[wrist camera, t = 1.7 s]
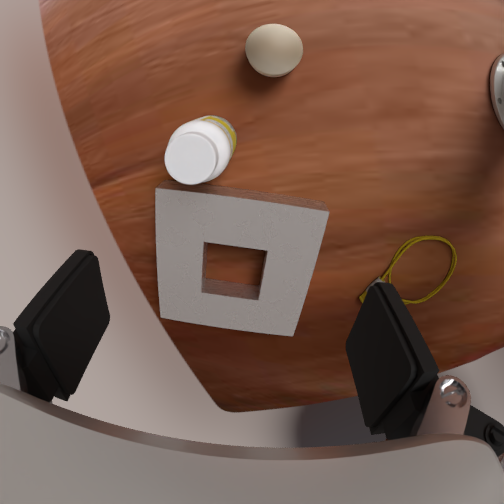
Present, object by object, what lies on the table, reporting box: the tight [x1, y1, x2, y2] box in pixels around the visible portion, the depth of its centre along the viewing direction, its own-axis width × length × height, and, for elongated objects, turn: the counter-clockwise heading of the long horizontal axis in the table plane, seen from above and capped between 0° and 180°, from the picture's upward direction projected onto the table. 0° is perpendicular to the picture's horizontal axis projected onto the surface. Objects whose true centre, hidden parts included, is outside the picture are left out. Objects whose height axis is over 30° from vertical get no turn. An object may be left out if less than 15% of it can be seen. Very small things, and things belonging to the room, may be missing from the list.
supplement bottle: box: [165, 116, 237, 185], centre depth 25 cm, size 5×5×10 cm
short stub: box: [245, 24, 303, 77], centre depth 22 cm, size 5×5×4 cm
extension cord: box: [359, 236, 457, 304], centre depth 36 cm, size 12×16×2 cm
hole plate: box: [155, 180, 329, 336], centre depth 35 cm, size 18×18×3 cm
